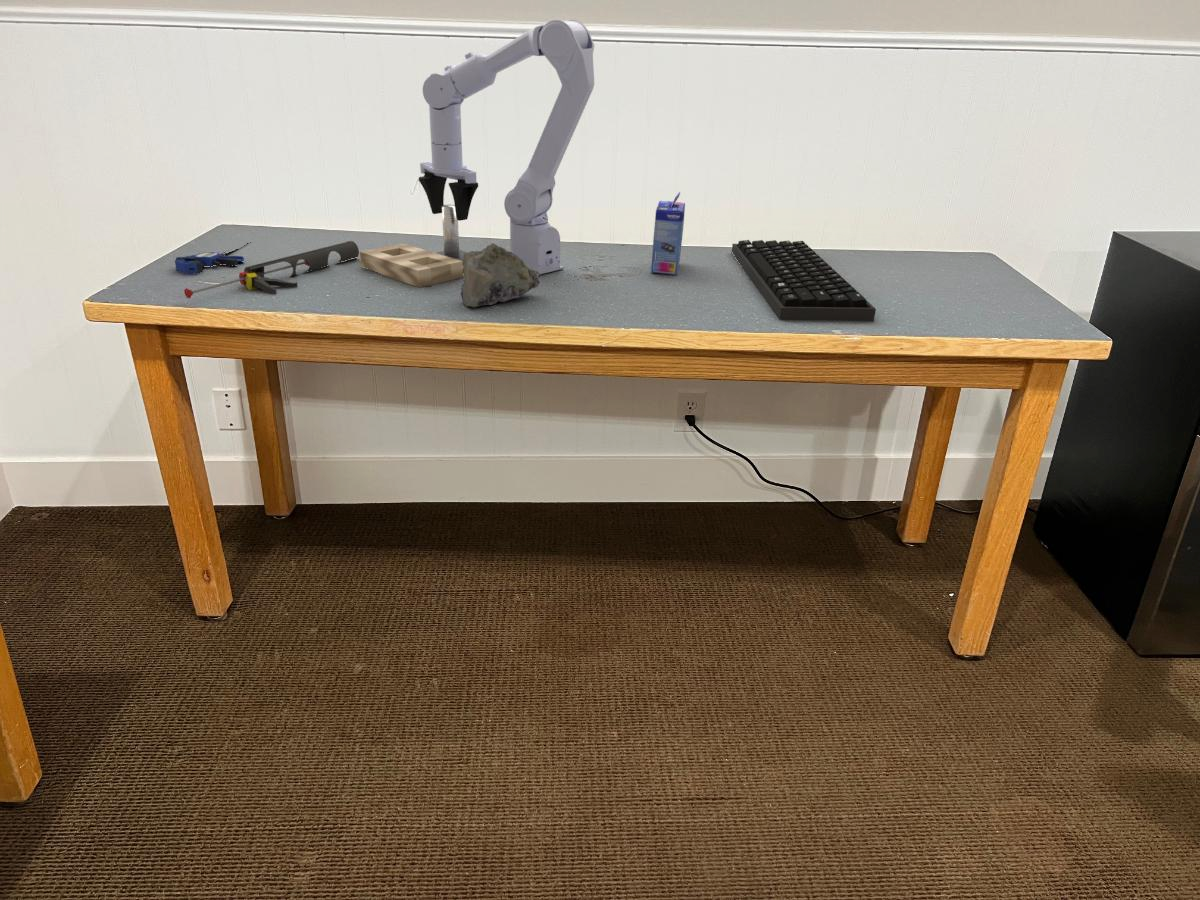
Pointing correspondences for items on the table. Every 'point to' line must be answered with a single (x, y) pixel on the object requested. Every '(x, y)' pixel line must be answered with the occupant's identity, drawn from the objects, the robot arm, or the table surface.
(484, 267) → the mineral rock
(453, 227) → the peg
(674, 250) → the ink cartridge box
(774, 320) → the table surface
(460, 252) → the mat
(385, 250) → the hole block
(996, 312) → the table surface
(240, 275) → the caulking gun
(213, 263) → the bar clamp
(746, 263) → the computer keyboard
